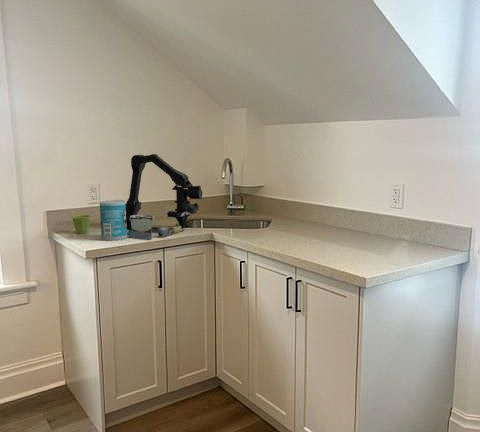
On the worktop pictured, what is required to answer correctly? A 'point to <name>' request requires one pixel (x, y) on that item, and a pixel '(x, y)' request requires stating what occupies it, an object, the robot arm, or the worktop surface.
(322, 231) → the worktop surface
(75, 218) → the plant pot
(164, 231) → the clip rail
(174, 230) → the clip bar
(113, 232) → the food can
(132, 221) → the food container
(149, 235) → the bracket
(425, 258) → the worktop surface
